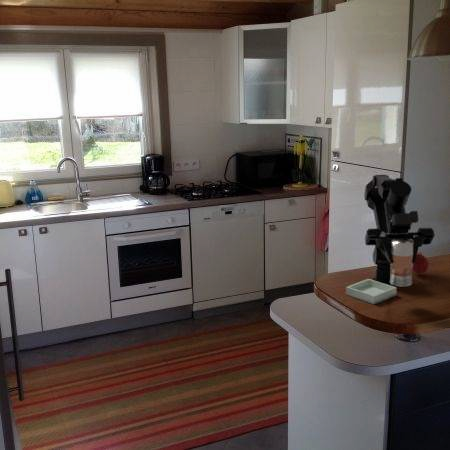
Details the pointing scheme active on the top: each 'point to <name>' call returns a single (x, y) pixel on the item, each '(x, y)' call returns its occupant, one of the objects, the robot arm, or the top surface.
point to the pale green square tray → (371, 291)
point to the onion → (420, 264)
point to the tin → (401, 262)
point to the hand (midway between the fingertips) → (402, 262)
